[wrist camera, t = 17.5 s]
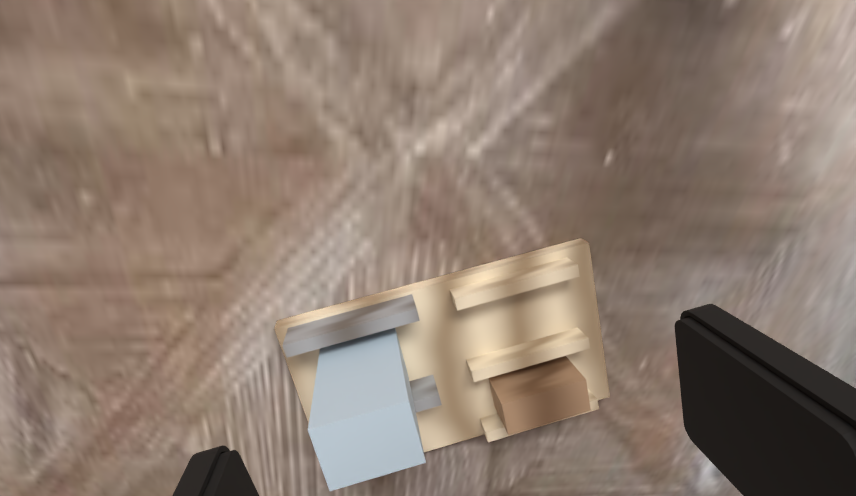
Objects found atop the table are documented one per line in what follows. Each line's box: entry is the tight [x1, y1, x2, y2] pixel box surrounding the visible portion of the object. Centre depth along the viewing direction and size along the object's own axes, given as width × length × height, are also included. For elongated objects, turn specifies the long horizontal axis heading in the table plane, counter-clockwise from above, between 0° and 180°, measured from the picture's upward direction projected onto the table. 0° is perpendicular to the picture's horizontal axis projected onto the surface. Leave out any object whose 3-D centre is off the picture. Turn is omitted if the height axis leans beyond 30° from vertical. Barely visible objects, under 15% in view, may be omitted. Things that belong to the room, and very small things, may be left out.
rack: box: [274, 238, 610, 452], centre depth 40 cm, size 26×15×4 cm, turn 103°
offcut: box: [488, 356, 591, 436], centre depth 40 cm, size 7×3×4 cm, turn 103°
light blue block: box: [308, 328, 426, 491], centre depth 34 cm, size 6×4×11 cm
